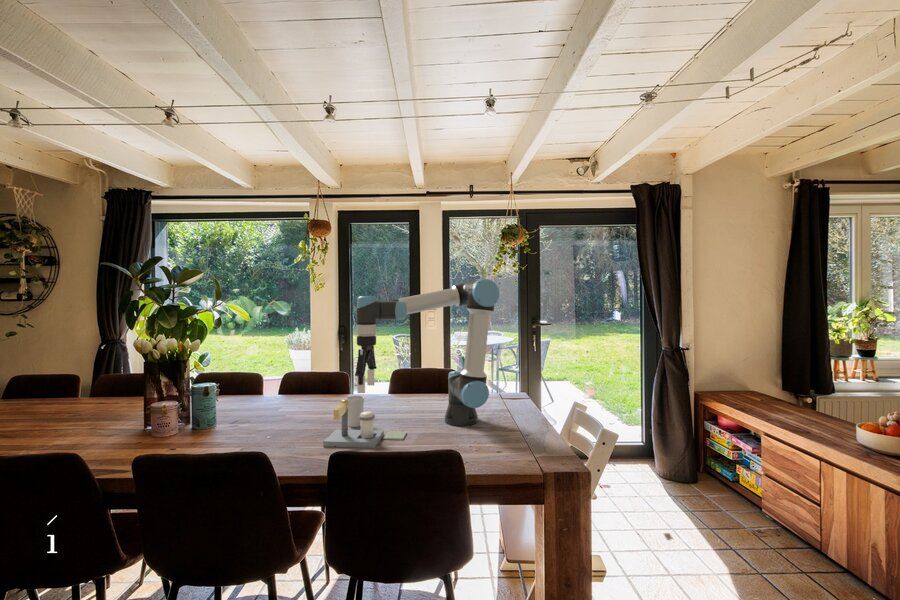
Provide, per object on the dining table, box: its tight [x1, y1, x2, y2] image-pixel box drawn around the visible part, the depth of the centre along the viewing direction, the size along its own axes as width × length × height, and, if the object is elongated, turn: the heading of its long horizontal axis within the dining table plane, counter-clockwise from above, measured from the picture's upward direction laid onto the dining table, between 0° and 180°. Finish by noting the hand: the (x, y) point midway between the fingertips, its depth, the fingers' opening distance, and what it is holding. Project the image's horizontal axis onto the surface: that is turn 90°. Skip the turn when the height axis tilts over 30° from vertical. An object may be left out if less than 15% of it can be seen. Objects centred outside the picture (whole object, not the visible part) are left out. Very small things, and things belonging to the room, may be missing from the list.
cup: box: [345, 395, 365, 428], centre depth 182 cm, size 8×8×12 cm
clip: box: [333, 398, 349, 420], centre depth 156 cm, size 14×3×4 cm, turn 0°
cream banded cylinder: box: [359, 410, 376, 439], centre depth 161 cm, size 6×6×11 cm
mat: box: [382, 430, 407, 441], centre depth 166 cm, size 8×8×1 cm
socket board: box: [322, 411, 385, 449], centre depth 161 cm, size 20×14×12 cm
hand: (366, 389), depth 161 cm, fingers open, 13 cm apart
